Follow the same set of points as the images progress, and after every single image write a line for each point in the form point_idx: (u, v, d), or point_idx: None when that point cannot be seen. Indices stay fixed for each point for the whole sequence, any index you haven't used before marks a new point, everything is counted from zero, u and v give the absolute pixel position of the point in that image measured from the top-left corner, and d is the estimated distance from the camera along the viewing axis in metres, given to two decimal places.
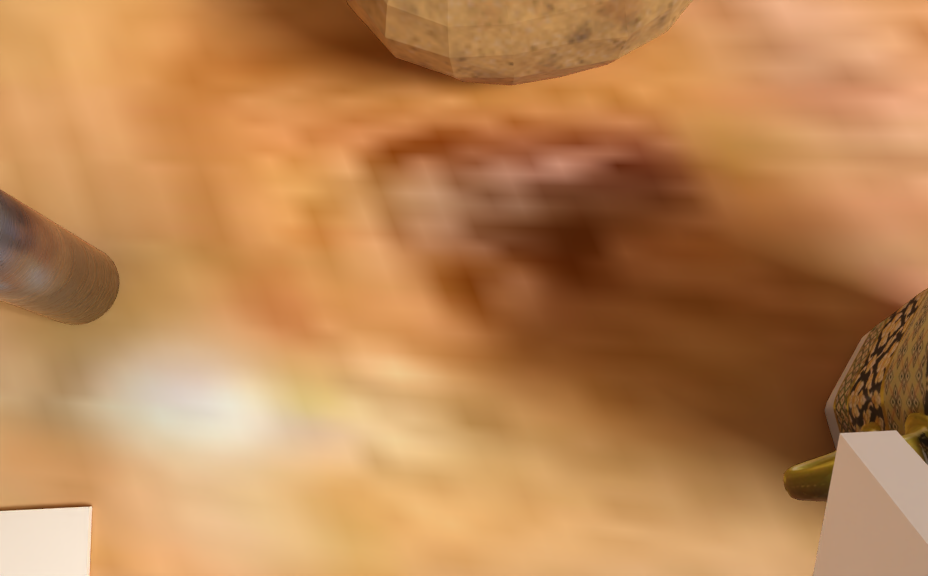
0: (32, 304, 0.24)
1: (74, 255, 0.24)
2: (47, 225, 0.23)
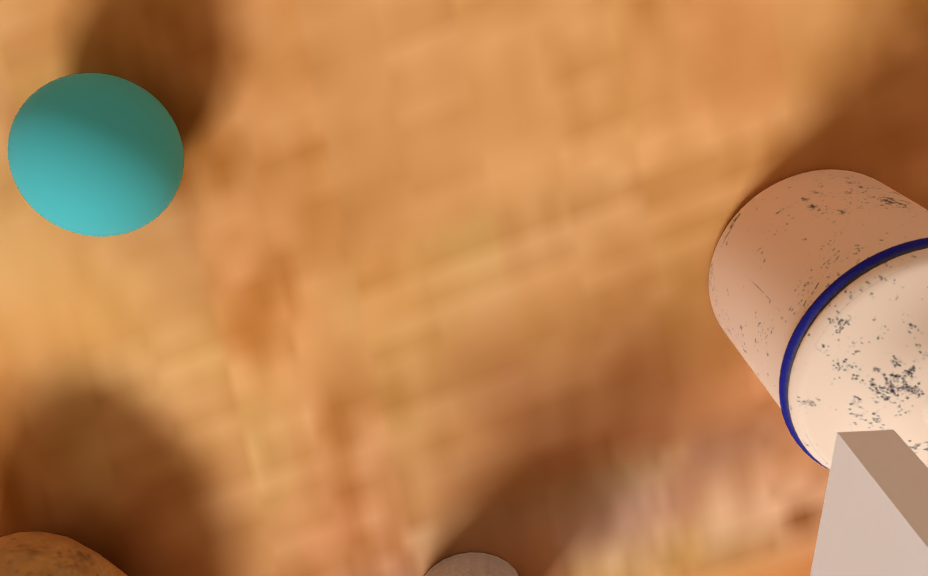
0: None
1: None
2: None
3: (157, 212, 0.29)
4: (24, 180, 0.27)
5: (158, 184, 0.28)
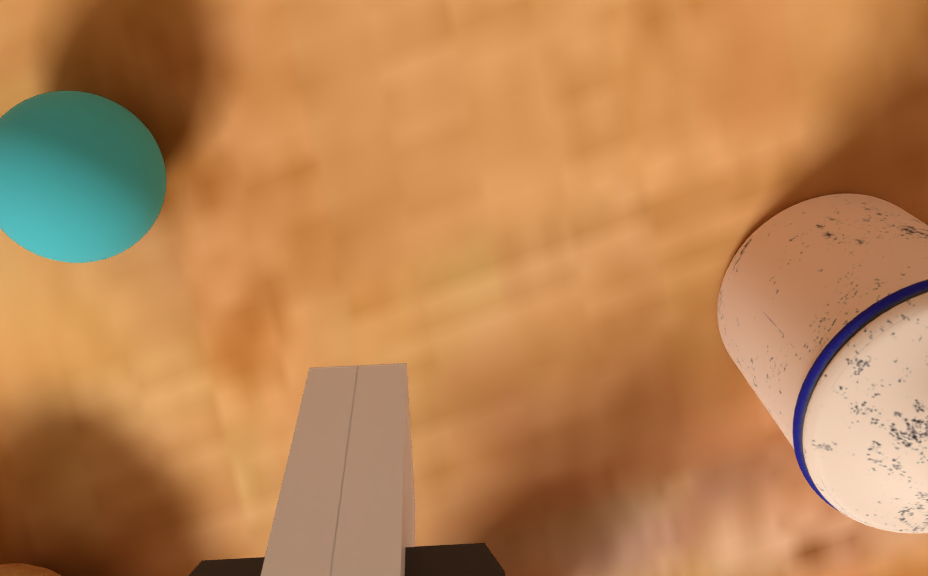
0: None
1: None
2: None
3: (137, 237, 0.28)
4: None
5: (137, 208, 0.27)
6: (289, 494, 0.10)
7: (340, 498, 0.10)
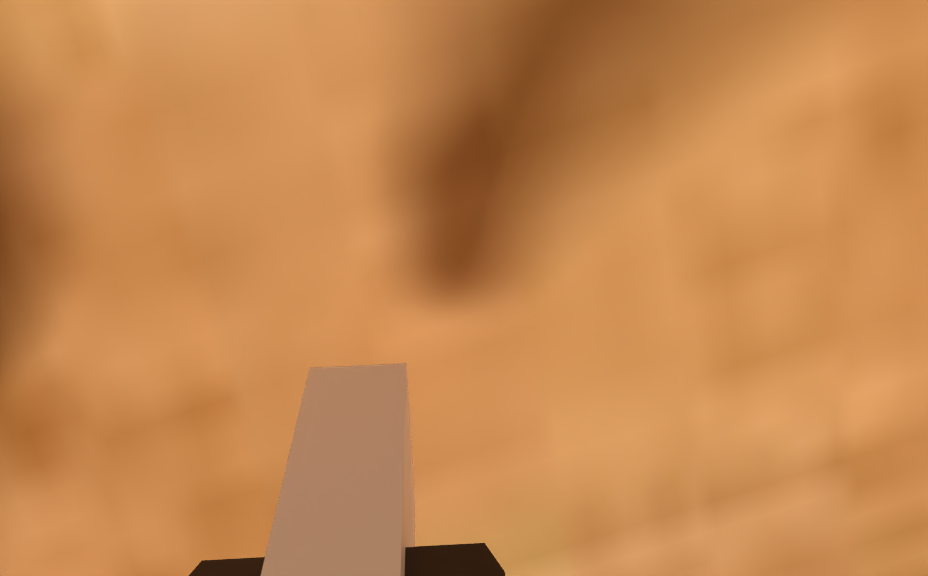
0: None
1: None
2: None
3: None
4: None
5: None
6: (289, 494, 0.10)
7: (340, 499, 0.10)
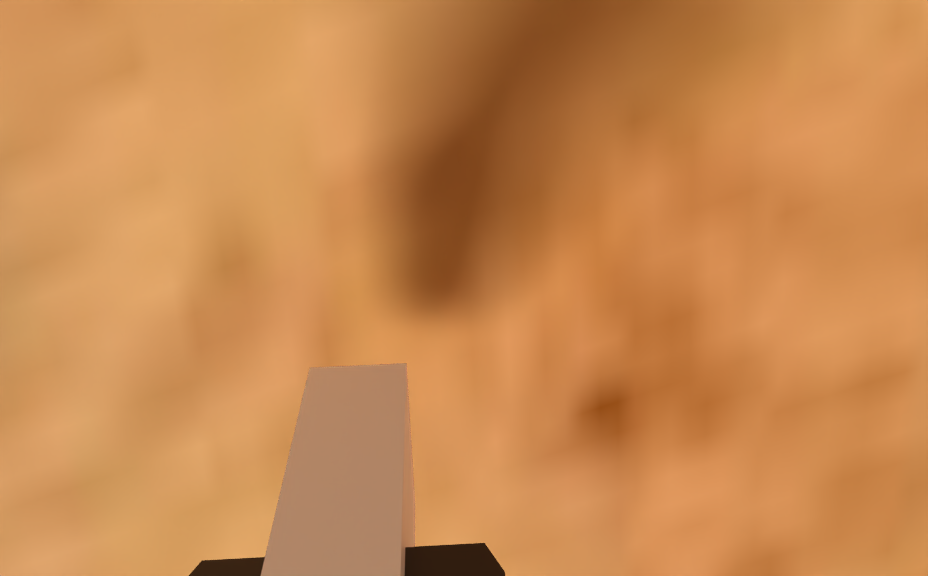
0: None
1: None
2: None
3: None
4: None
5: None
6: (289, 494, 0.10)
7: (340, 499, 0.10)
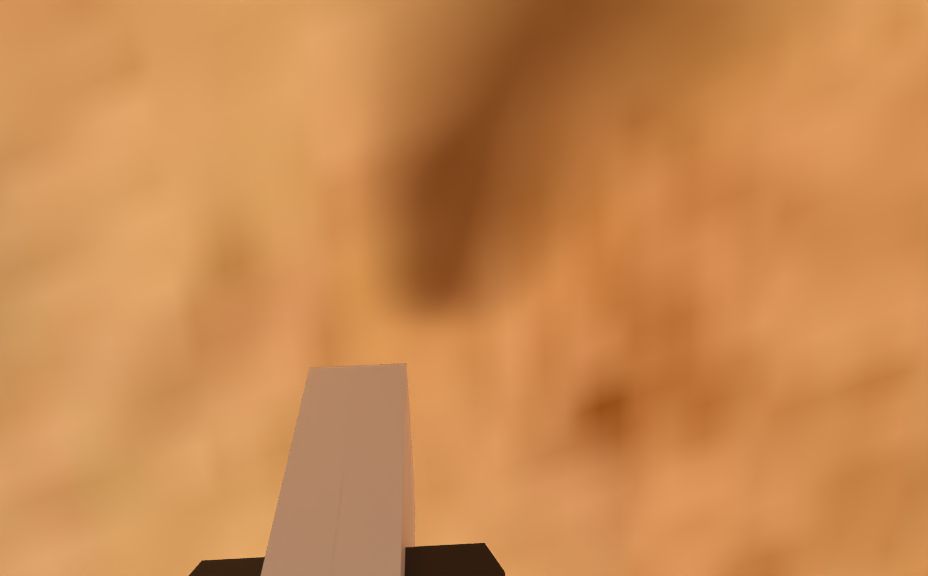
0: None
1: None
2: None
3: None
4: None
5: None
6: (289, 494, 0.10)
7: (340, 499, 0.10)
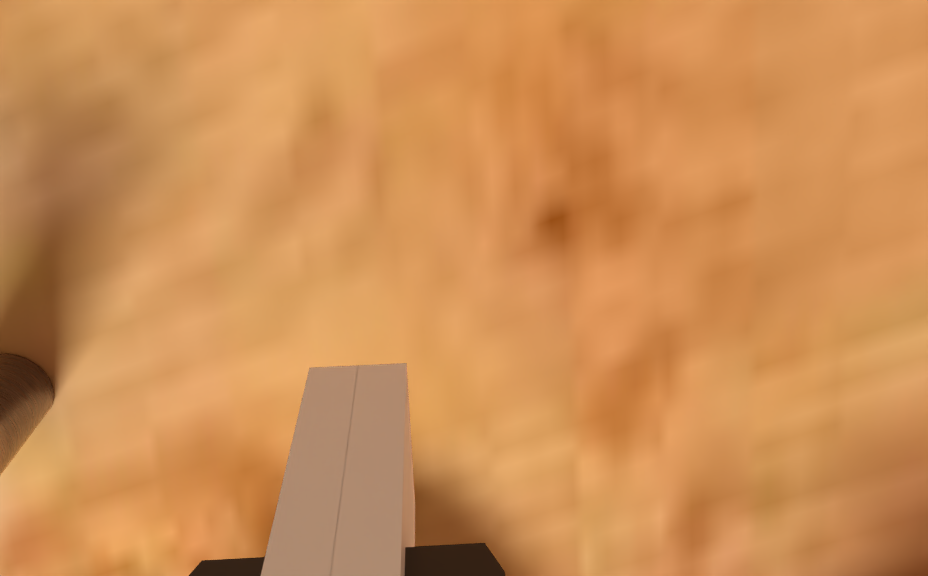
0: None
1: None
2: None
3: None
4: None
5: None
6: (289, 494, 0.10)
7: (340, 499, 0.10)
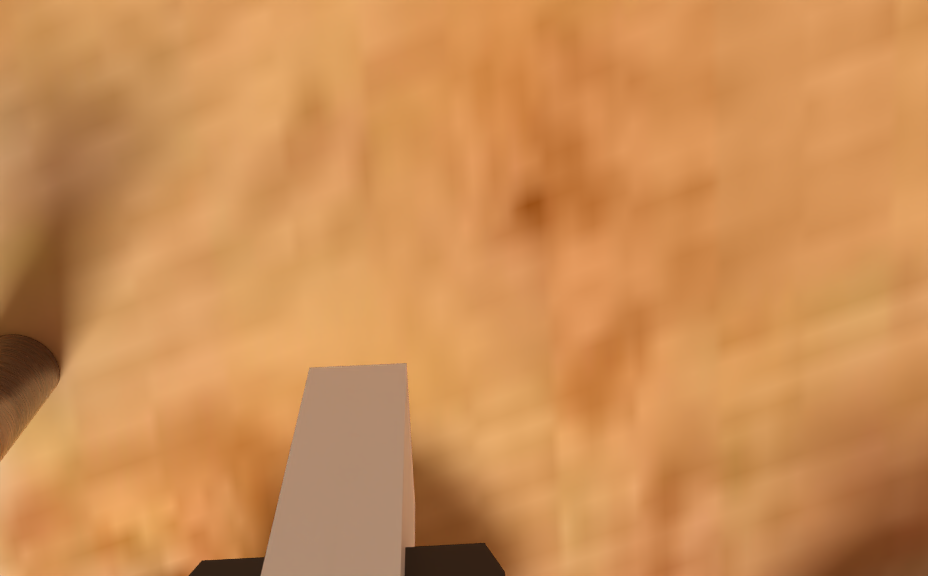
0: None
1: None
2: None
3: None
4: None
5: None
6: (289, 494, 0.10)
7: (340, 499, 0.10)
